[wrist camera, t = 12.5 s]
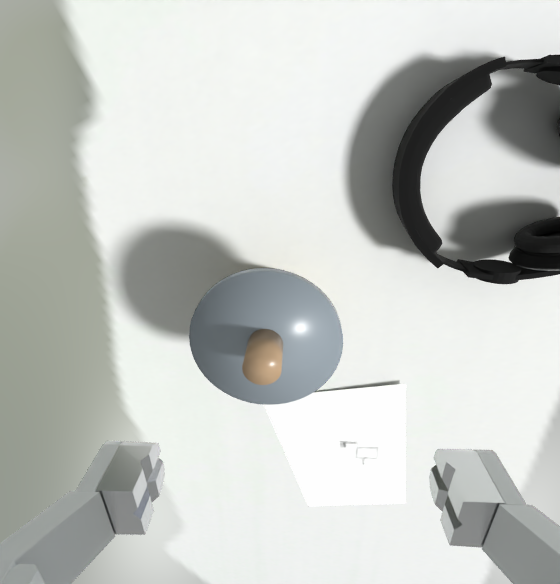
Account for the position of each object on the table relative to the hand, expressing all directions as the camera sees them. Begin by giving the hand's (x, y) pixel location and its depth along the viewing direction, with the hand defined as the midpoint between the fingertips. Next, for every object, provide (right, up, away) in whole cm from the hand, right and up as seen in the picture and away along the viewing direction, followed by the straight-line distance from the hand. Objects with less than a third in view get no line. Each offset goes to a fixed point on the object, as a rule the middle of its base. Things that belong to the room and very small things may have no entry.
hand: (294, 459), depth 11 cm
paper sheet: (+2, -16, +39) cm, 42 cm away
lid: (-2, +1, +21) cm, 21 cm away
